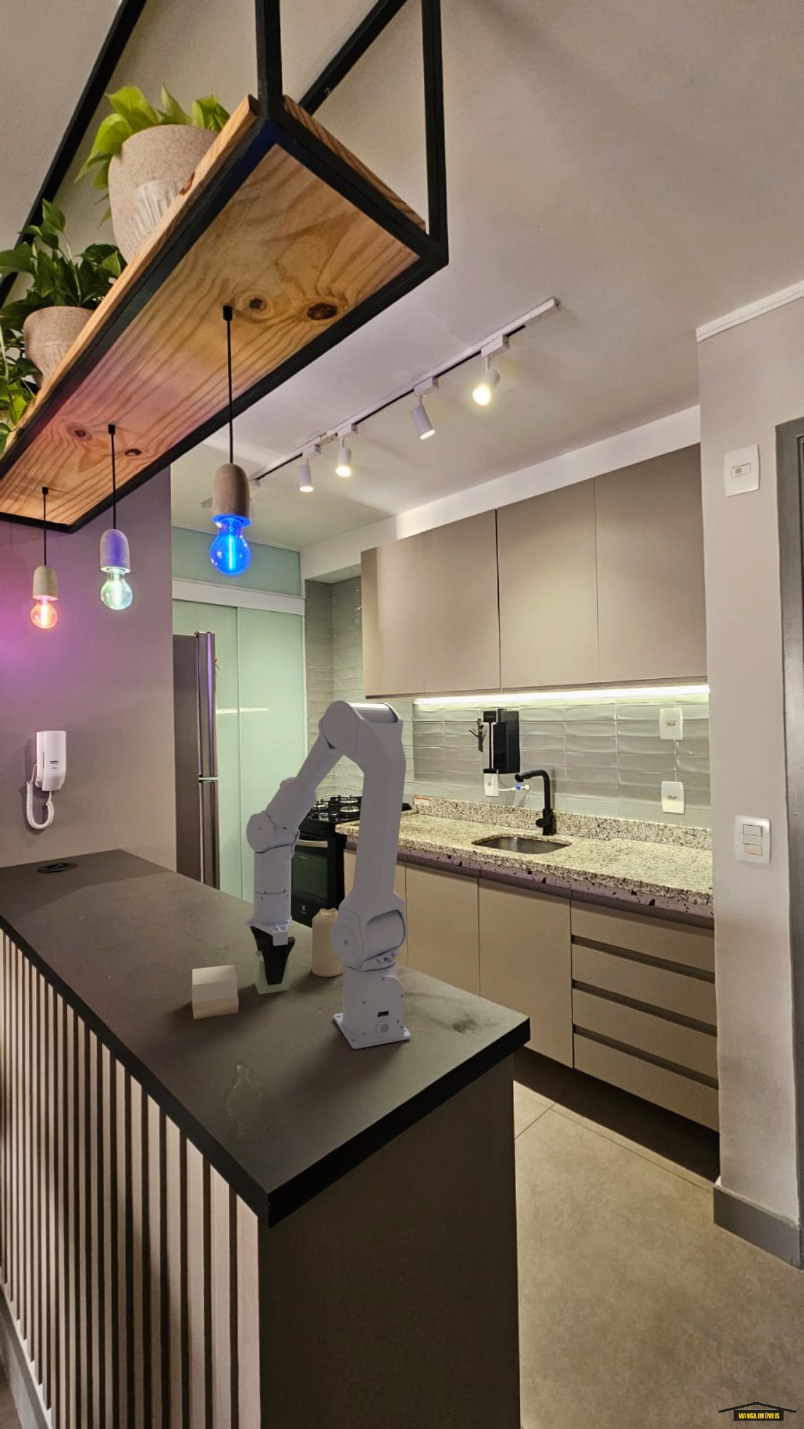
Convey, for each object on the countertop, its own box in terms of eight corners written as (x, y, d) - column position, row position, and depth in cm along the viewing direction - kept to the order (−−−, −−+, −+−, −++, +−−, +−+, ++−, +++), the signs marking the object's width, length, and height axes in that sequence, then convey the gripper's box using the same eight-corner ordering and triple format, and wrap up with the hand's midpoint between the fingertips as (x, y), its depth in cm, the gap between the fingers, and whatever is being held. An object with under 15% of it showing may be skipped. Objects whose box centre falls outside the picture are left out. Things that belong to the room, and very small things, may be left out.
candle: (305, 973, 104) (305, 912, 104) (324, 962, 109) (324, 903, 109) (333, 979, 101) (333, 916, 102) (351, 968, 106) (351, 908, 106)
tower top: (237, 997, 90) (237, 979, 90) (192, 1003, 88) (192, 984, 88) (234, 981, 95) (234, 964, 95) (192, 986, 93) (192, 969, 93)
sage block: (288, 990, 97) (288, 957, 98) (259, 994, 96) (259, 961, 96) (282, 979, 102) (283, 948, 102) (254, 983, 100) (254, 951, 100)
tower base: (238, 1014, 90) (238, 996, 90) (193, 1021, 88) (194, 1003, 88) (233, 997, 95) (233, 980, 95) (191, 1003, 93) (191, 986, 93)
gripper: (240, 881, 104) (239, 964, 104) (253, 904, 91) (252, 999, 90) (282, 877, 107) (281, 958, 107) (301, 899, 93) (301, 992, 93)
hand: (271, 977), depth 99 cm, fingers open, 5 cm apart
